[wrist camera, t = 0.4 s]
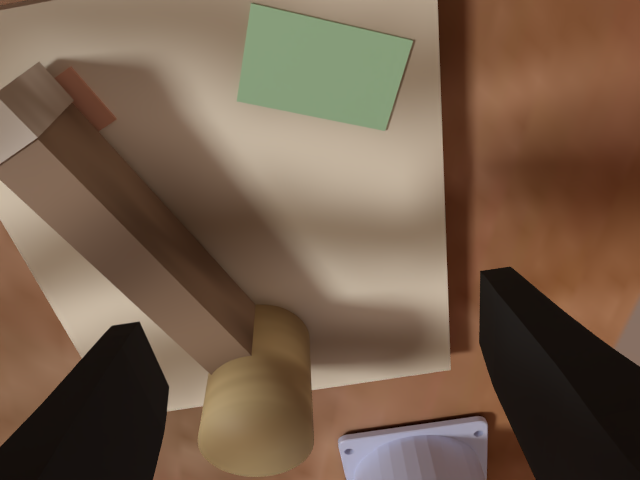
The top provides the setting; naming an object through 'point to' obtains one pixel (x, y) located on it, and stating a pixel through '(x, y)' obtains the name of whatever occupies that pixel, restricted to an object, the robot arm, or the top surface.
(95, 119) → the thin salmon tile
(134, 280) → the friction peg
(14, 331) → the top surface
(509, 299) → the robot arm
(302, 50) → the green tile
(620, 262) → the top surface
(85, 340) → the board
